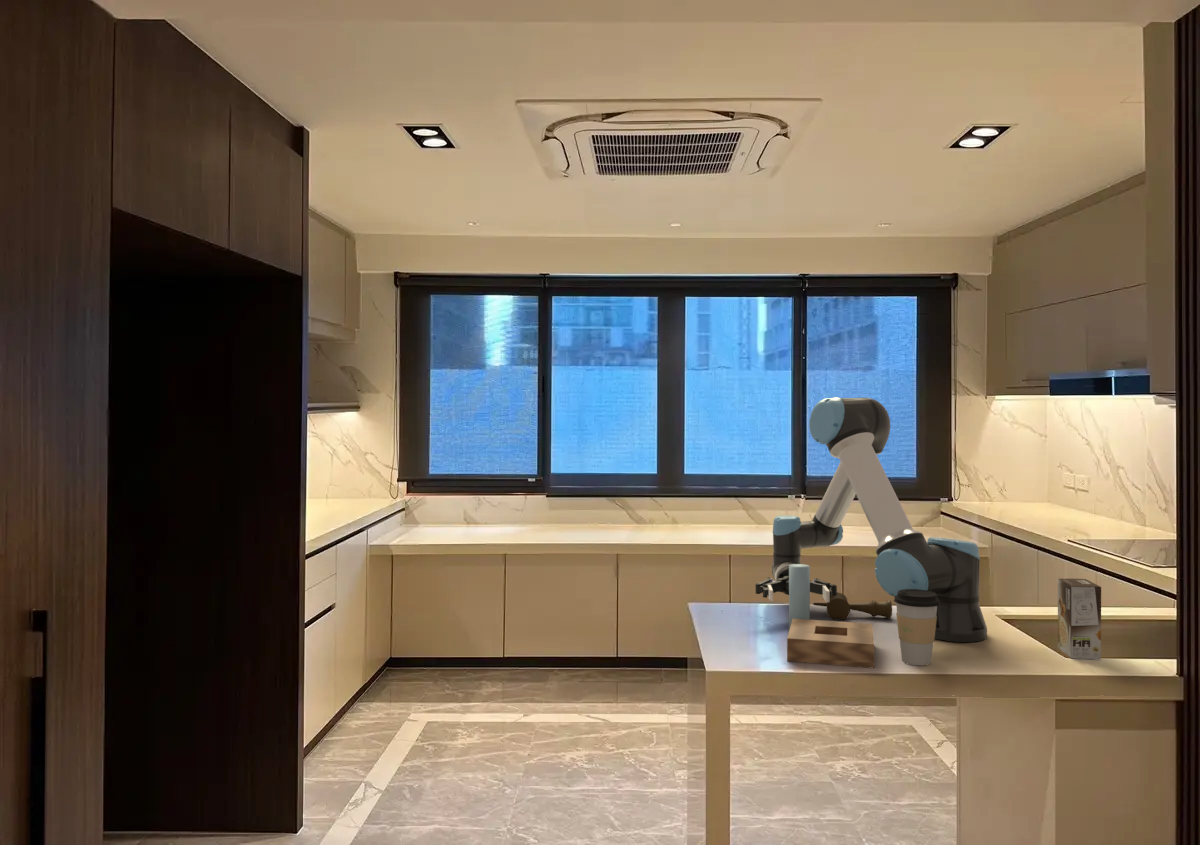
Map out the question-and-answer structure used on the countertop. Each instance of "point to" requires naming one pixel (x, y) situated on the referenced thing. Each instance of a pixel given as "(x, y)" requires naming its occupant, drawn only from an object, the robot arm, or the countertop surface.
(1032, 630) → the countertop surface
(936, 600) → the coffee cup
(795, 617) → the peg
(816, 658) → the socket block
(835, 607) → the kendama
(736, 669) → the countertop surface
